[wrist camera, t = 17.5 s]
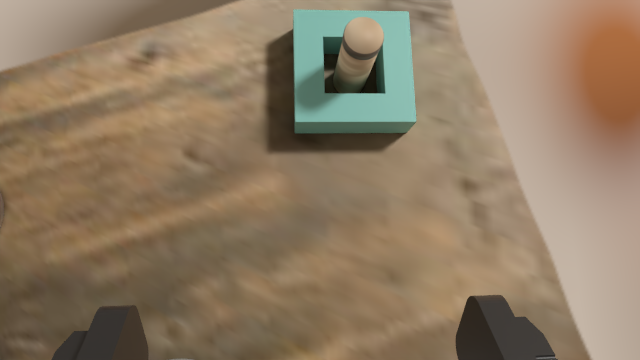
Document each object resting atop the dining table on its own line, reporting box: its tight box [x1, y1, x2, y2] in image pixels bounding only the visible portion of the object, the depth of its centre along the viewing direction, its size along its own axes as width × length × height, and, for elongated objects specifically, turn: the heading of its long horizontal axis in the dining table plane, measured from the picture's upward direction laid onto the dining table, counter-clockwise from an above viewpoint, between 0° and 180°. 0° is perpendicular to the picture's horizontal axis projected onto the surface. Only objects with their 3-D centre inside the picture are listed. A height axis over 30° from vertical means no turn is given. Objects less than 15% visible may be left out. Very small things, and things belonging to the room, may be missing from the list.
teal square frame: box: [293, 10, 416, 133], centre depth 44 cm, size 11×11×4 cm
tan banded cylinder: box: [333, 17, 384, 93], centre depth 41 cm, size 3×3×9 cm
